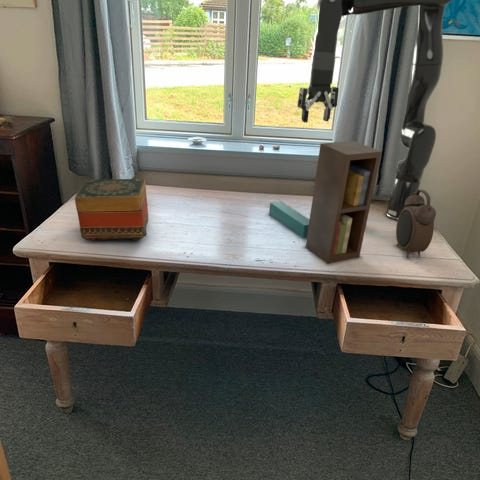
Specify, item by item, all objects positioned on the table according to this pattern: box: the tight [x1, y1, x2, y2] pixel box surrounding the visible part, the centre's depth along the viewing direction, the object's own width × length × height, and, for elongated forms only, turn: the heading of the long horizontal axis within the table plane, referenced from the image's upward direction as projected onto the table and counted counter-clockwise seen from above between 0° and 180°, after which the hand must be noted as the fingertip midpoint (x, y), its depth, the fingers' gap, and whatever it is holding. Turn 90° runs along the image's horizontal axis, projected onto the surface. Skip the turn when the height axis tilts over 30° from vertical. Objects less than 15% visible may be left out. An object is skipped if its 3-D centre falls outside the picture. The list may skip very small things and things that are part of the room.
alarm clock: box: [395, 189, 437, 259], centre depth 148 cm, size 14×7×20 cm, turn 5°
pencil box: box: [268, 200, 310, 238], centre depth 166 cm, size 22×5×4 cm, turn 28°
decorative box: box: [74, 178, 149, 242], centre depth 149 cm, size 20×22×16 cm
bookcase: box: [305, 140, 383, 265], centre depth 142 cm, size 12×12×32 cm
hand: (315, 121), depth 161 cm, fingers open, 8 cm apart
